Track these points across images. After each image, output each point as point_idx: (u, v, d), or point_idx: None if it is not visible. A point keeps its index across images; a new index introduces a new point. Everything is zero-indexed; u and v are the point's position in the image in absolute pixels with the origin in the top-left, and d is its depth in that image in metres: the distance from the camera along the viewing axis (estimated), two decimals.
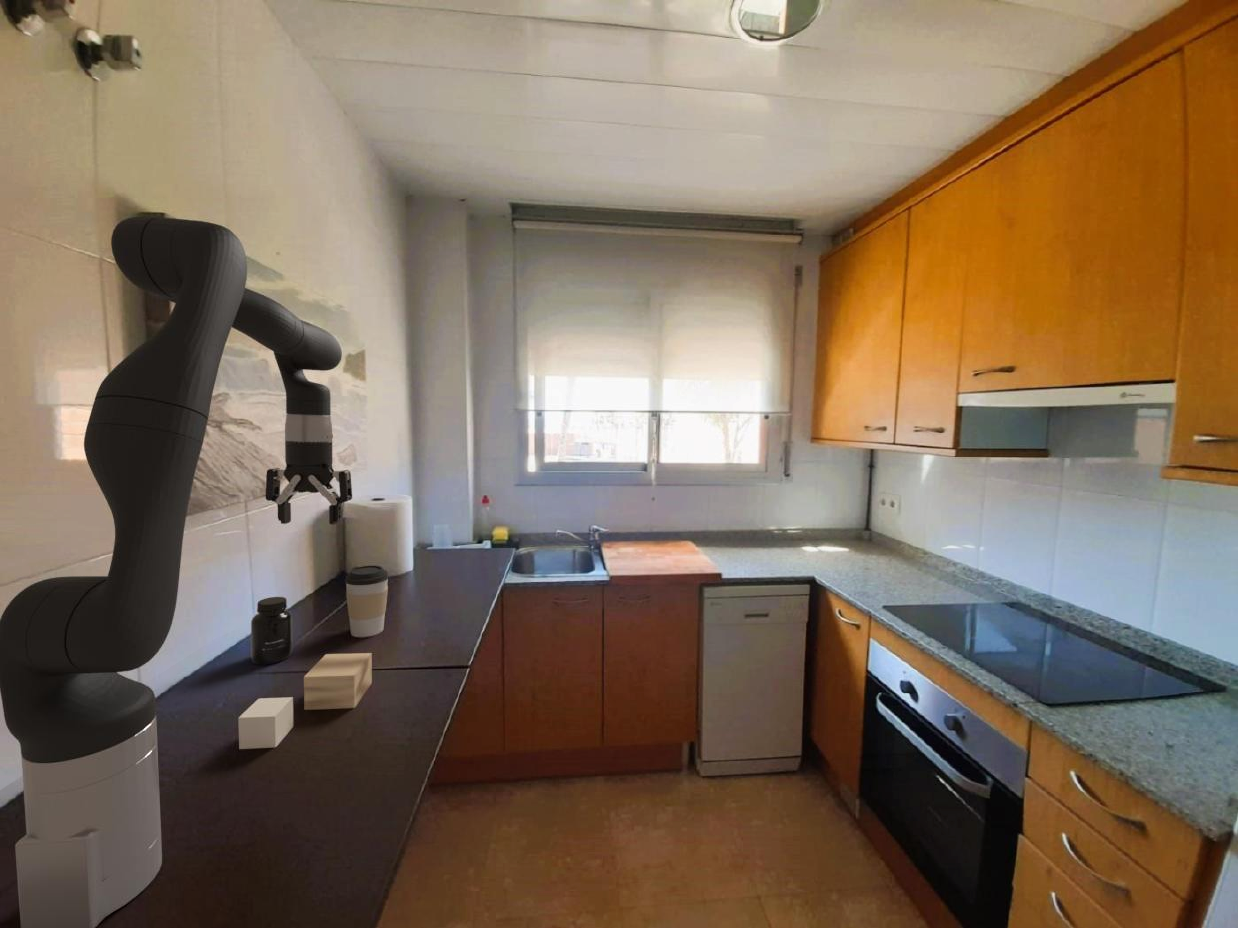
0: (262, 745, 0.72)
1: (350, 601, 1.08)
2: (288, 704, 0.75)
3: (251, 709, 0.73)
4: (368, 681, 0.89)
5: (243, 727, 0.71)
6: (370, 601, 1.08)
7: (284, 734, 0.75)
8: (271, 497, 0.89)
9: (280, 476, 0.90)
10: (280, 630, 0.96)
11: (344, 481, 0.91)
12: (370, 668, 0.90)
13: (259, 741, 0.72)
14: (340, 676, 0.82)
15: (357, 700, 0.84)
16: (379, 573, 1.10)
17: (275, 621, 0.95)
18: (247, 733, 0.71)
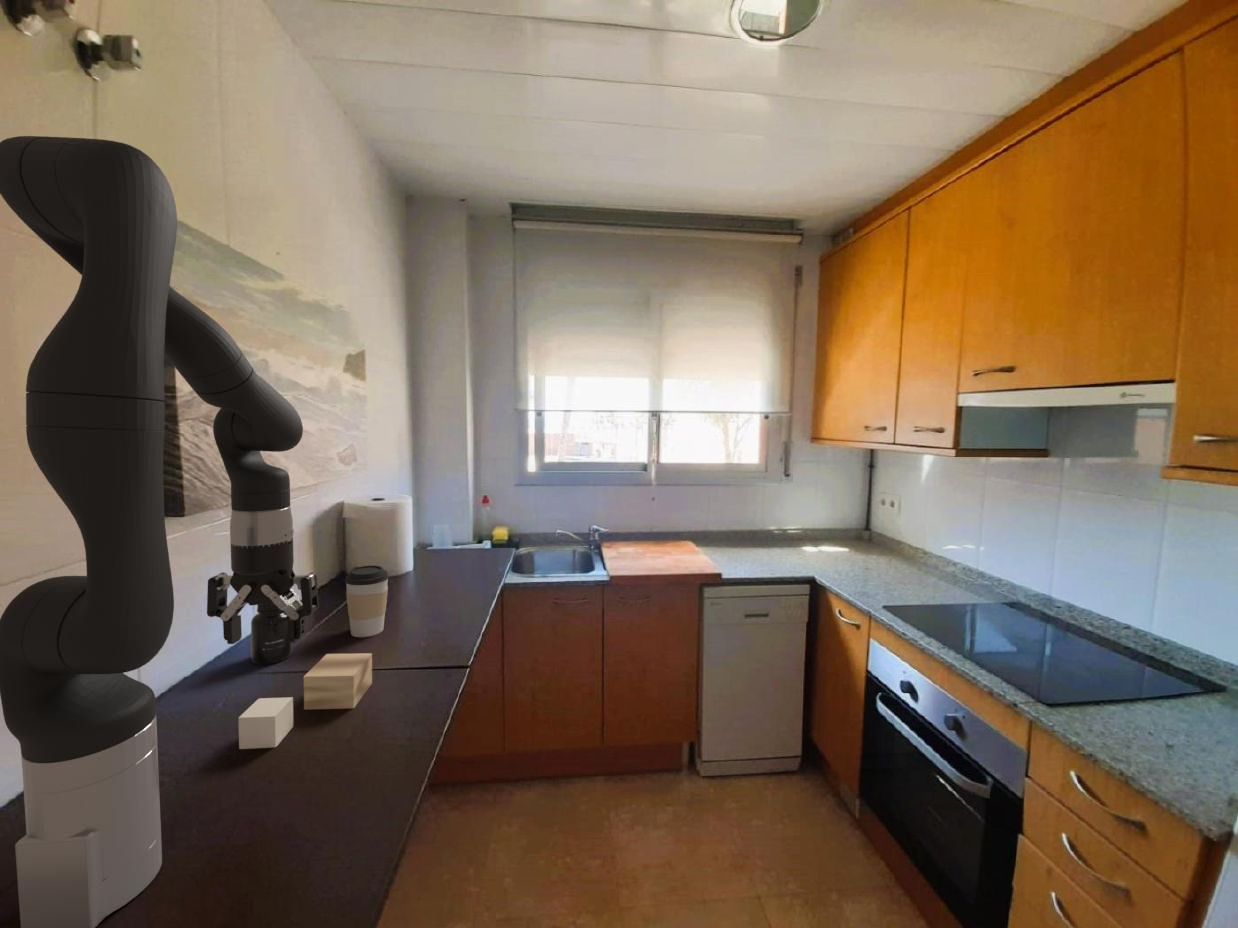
0: (262, 745, 0.72)
1: (350, 601, 1.08)
2: (288, 704, 0.75)
3: (251, 709, 0.73)
4: (368, 681, 0.89)
5: (243, 727, 0.71)
6: (370, 601, 1.08)
7: (284, 734, 0.75)
8: (214, 612, 0.71)
9: (226, 585, 0.71)
10: (280, 630, 0.96)
11: (307, 590, 0.72)
12: (370, 669, 0.90)
13: (259, 741, 0.72)
14: (340, 676, 0.82)
15: (356, 700, 0.84)
16: (379, 573, 1.10)
17: (275, 621, 0.95)
18: (247, 733, 0.71)
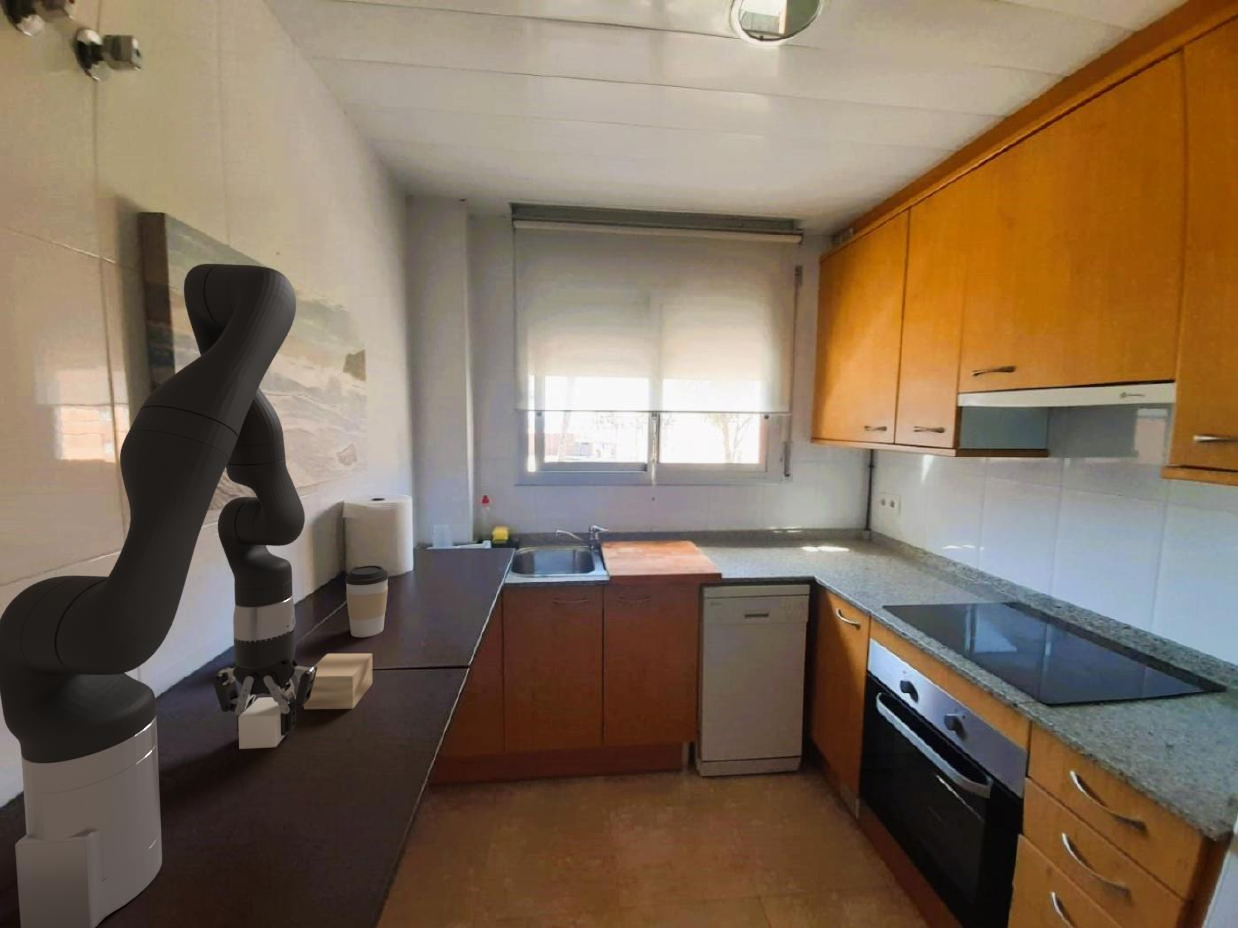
0: (262, 744, 0.72)
1: (350, 601, 1.08)
2: None
3: (251, 708, 0.73)
4: (368, 681, 0.89)
5: (243, 726, 0.71)
6: (370, 601, 1.08)
7: None
8: (228, 707, 0.72)
9: (231, 678, 0.73)
10: None
11: (305, 685, 0.73)
12: (371, 669, 0.90)
13: (259, 740, 0.72)
14: (339, 676, 0.82)
15: (356, 701, 0.84)
16: (379, 573, 1.10)
17: None
18: (247, 733, 0.72)
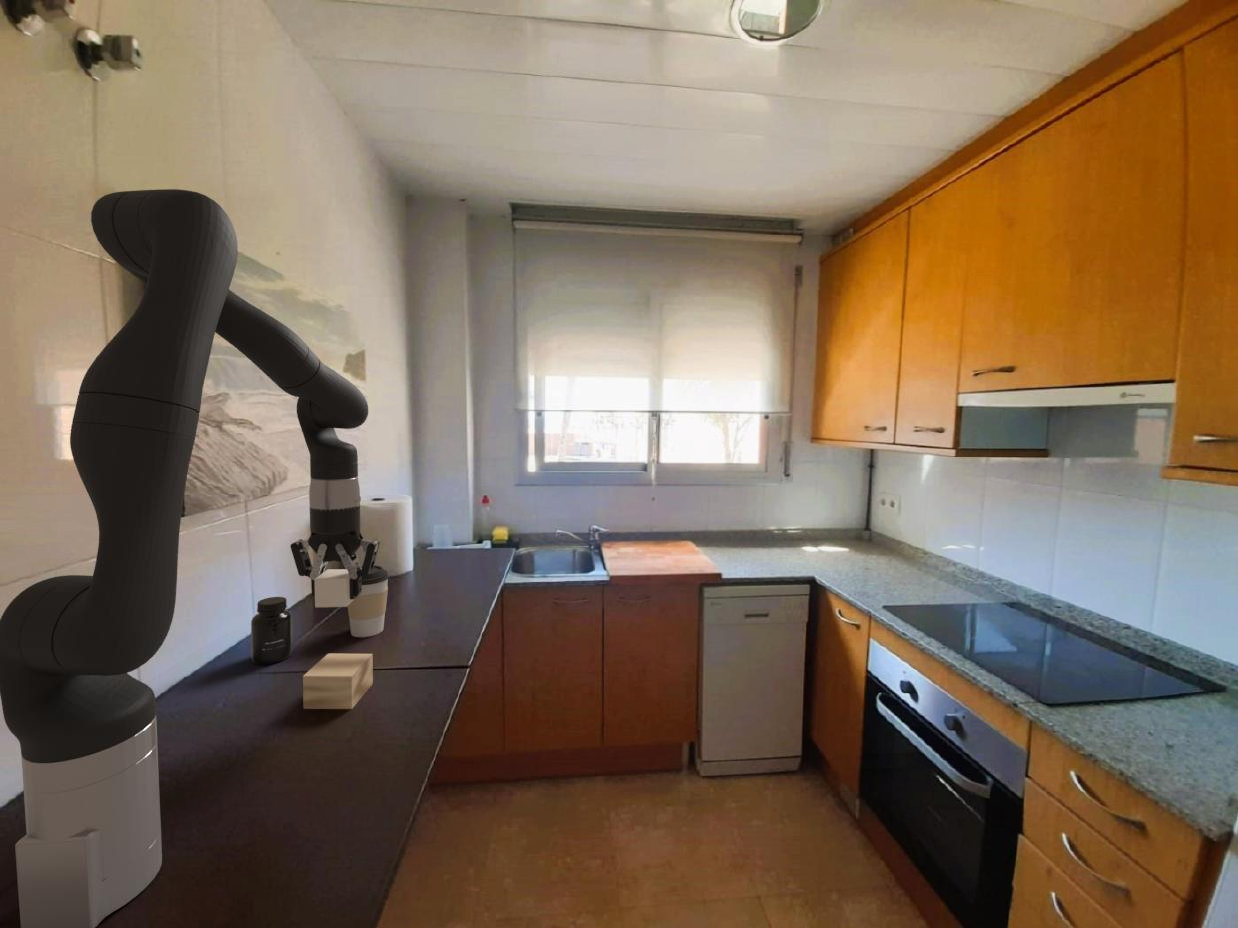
0: (335, 604, 0.82)
1: None
2: None
3: (323, 574, 0.83)
4: (368, 682, 0.89)
5: (318, 587, 0.81)
6: (370, 601, 1.08)
7: None
8: (304, 571, 0.82)
9: (306, 547, 0.82)
10: (279, 630, 0.96)
11: (371, 554, 0.83)
12: (371, 669, 0.90)
13: (332, 600, 0.82)
14: (338, 676, 0.82)
15: (355, 701, 0.84)
16: (379, 573, 1.10)
17: (275, 621, 0.95)
18: (322, 593, 0.82)
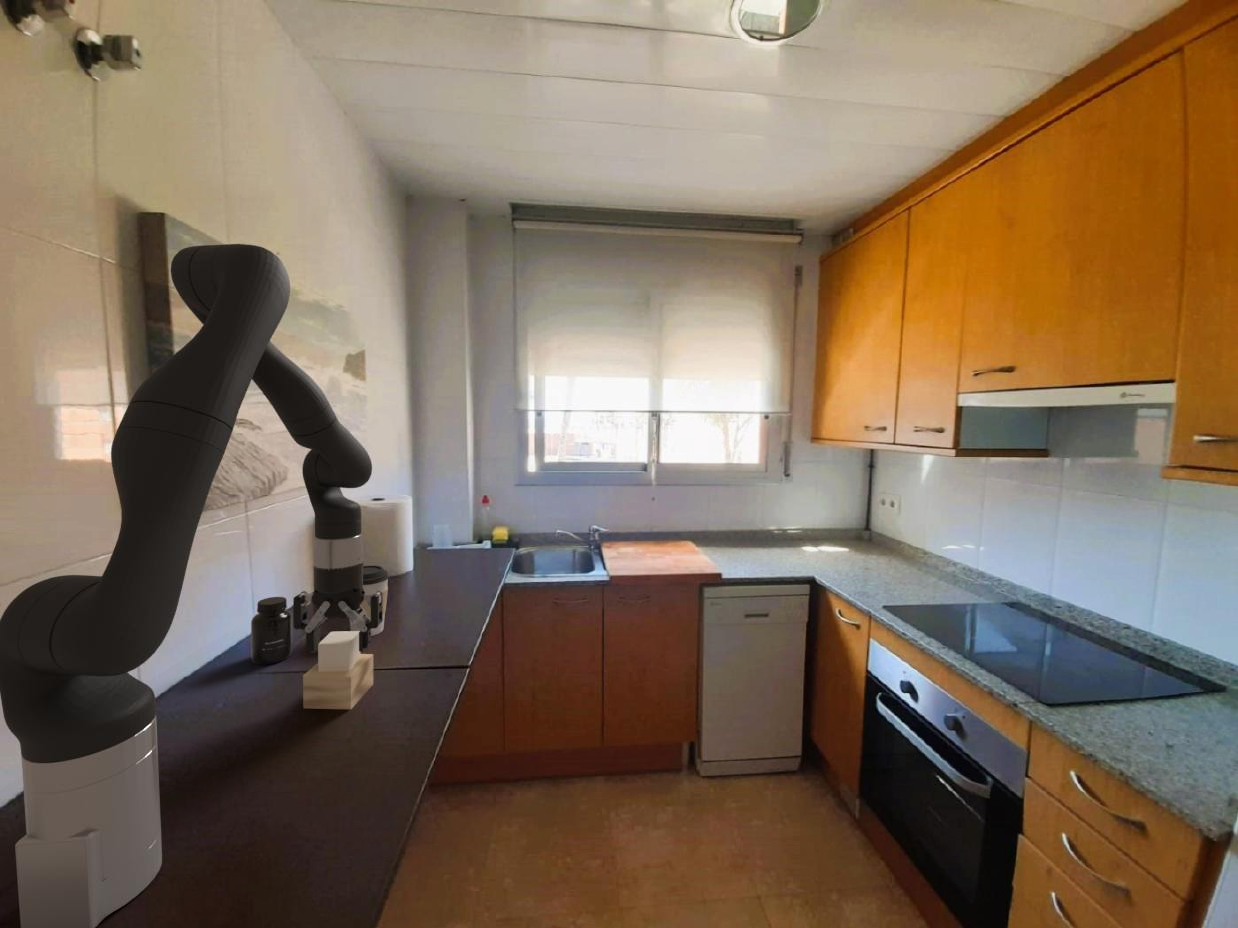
0: (338, 668, 0.83)
1: None
2: (357, 636, 0.87)
3: (327, 638, 0.84)
4: (369, 682, 0.88)
5: (321, 652, 0.83)
6: None
7: (354, 661, 0.86)
8: (299, 625, 0.83)
9: (308, 601, 0.83)
10: (280, 630, 0.96)
11: (376, 606, 0.84)
12: (372, 670, 0.89)
13: (335, 665, 0.83)
14: (338, 676, 0.82)
15: (354, 701, 0.83)
16: (379, 573, 1.10)
17: (275, 621, 0.95)
18: (325, 658, 0.83)
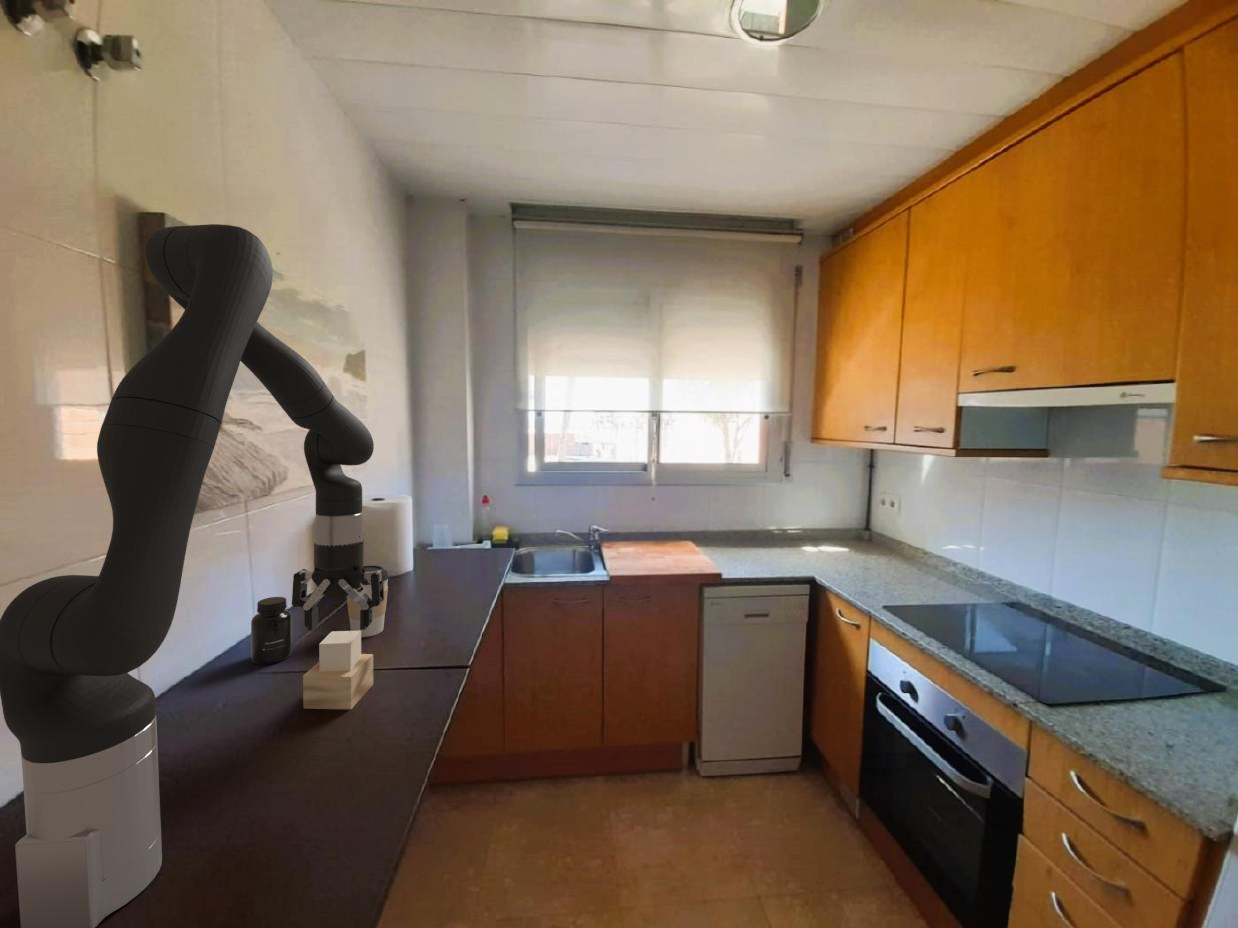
0: (339, 668, 0.83)
1: (350, 601, 1.08)
2: (358, 636, 0.87)
3: (328, 638, 0.84)
4: (369, 682, 0.88)
5: (323, 652, 0.83)
6: None
7: (355, 661, 0.86)
8: (298, 603, 0.82)
9: (308, 579, 0.83)
10: (279, 630, 0.96)
11: (376, 584, 0.84)
12: (371, 670, 0.89)
13: (336, 664, 0.83)
14: (338, 676, 0.82)
15: (354, 701, 0.83)
16: None
17: (275, 621, 0.95)
18: (326, 658, 0.83)
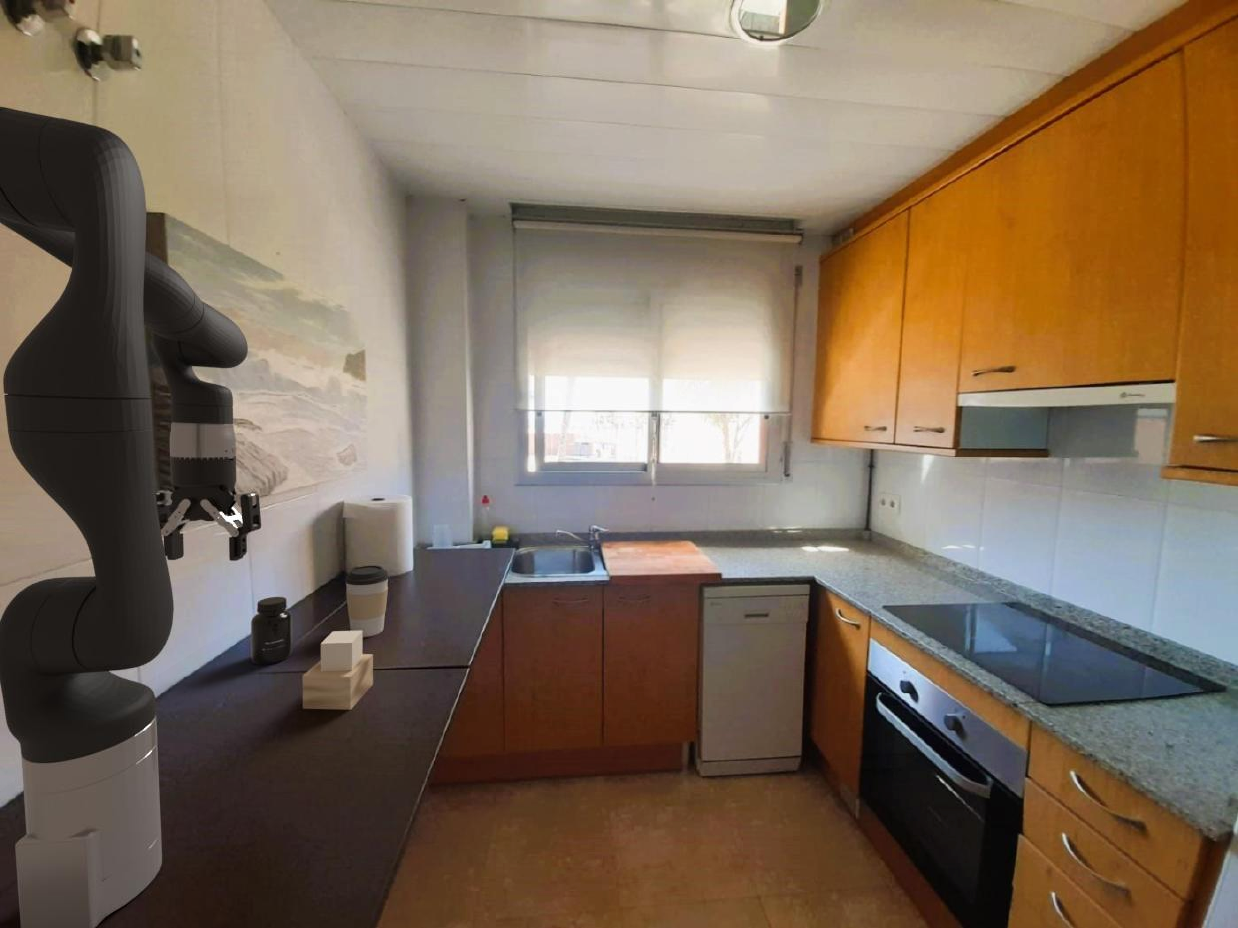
0: (340, 668, 0.83)
1: (350, 601, 1.08)
2: (359, 636, 0.87)
3: (329, 638, 0.85)
4: (368, 682, 0.88)
5: (324, 651, 0.83)
6: (370, 601, 1.08)
7: (357, 661, 0.86)
8: None
9: (167, 500, 0.72)
10: (279, 630, 0.96)
11: (247, 506, 0.72)
12: (371, 670, 0.89)
13: (338, 664, 0.83)
14: (337, 676, 0.82)
15: (354, 702, 0.83)
16: (379, 573, 1.10)
17: (275, 621, 0.95)
18: (328, 657, 0.83)
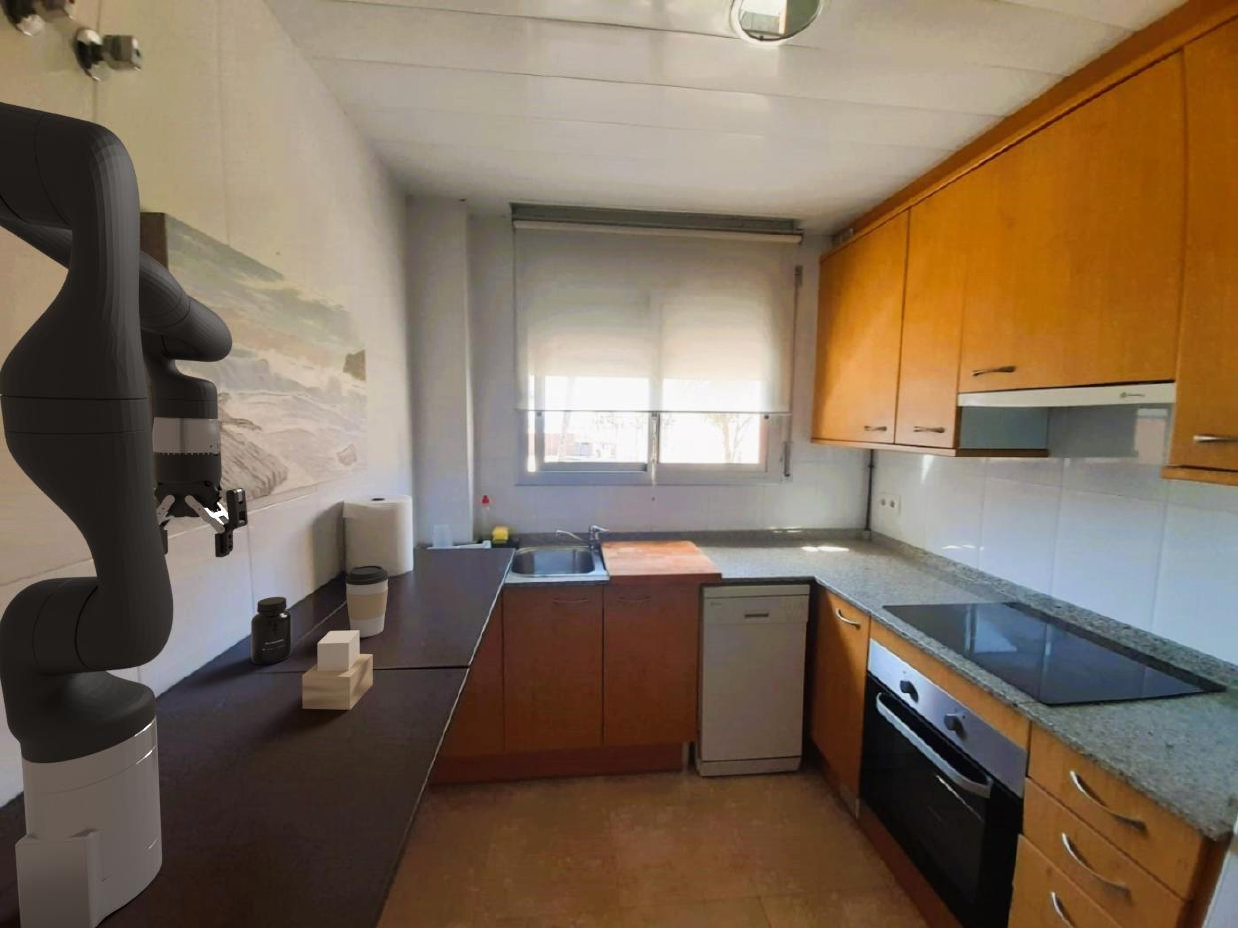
0: (337, 668, 0.83)
1: (350, 601, 1.08)
2: (356, 636, 0.87)
3: (326, 638, 0.85)
4: (368, 682, 0.88)
5: (321, 651, 0.83)
6: (370, 601, 1.08)
7: (354, 660, 0.86)
8: None
9: None
10: (279, 630, 0.96)
11: (233, 502, 0.71)
12: (371, 670, 0.89)
13: (335, 664, 0.83)
14: (337, 676, 0.82)
15: (353, 702, 0.83)
16: (379, 573, 1.10)
17: (275, 621, 0.95)
18: (324, 657, 0.83)
